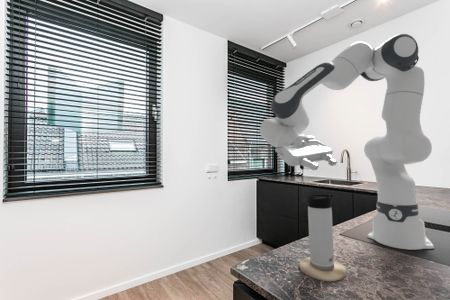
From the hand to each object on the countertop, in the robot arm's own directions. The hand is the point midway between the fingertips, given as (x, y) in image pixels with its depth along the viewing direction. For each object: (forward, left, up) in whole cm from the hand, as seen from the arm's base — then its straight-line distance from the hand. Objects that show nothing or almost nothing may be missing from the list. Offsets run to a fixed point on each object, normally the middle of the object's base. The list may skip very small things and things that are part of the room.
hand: (326, 166), depth 71 cm
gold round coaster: (+7, 0, -29) cm, 30 cm away
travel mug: (+7, 0, -28) cm, 29 cm away
